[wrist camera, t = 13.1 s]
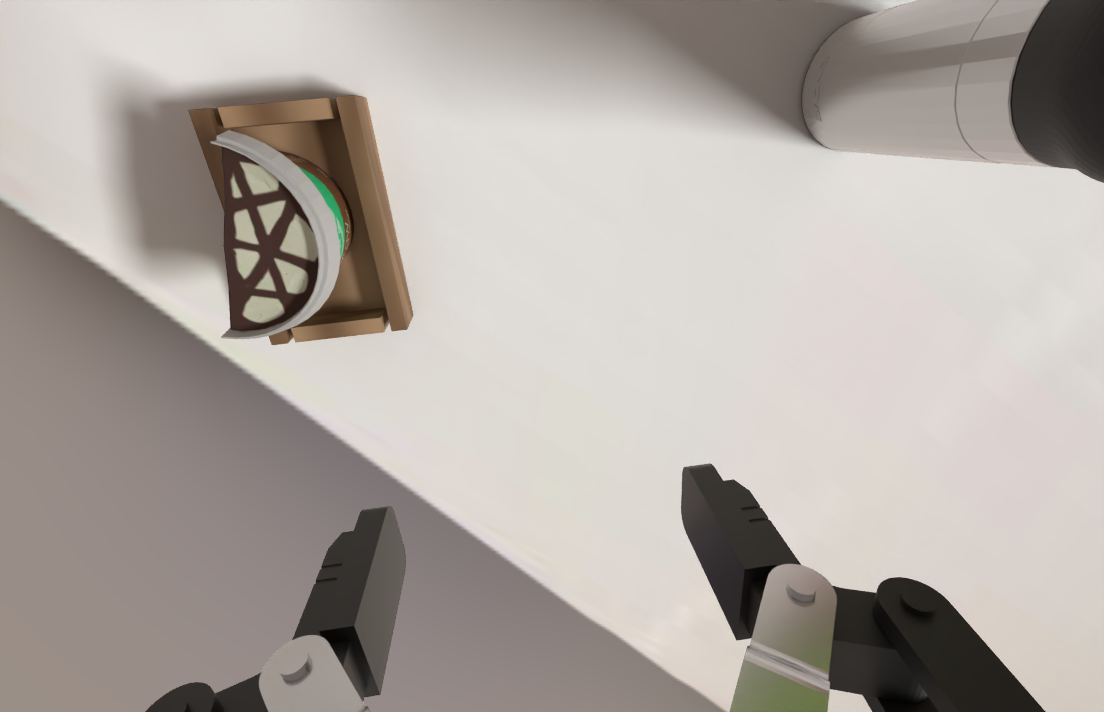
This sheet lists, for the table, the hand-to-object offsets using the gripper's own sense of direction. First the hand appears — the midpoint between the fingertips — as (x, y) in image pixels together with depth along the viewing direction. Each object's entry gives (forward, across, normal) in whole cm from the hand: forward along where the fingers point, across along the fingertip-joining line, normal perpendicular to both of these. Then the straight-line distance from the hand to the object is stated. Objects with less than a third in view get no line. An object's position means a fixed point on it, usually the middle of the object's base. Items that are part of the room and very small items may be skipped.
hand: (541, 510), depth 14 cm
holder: (+30, +14, -4) cm, 33 cm away
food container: (+30, +14, -4) cm, 33 cm away
